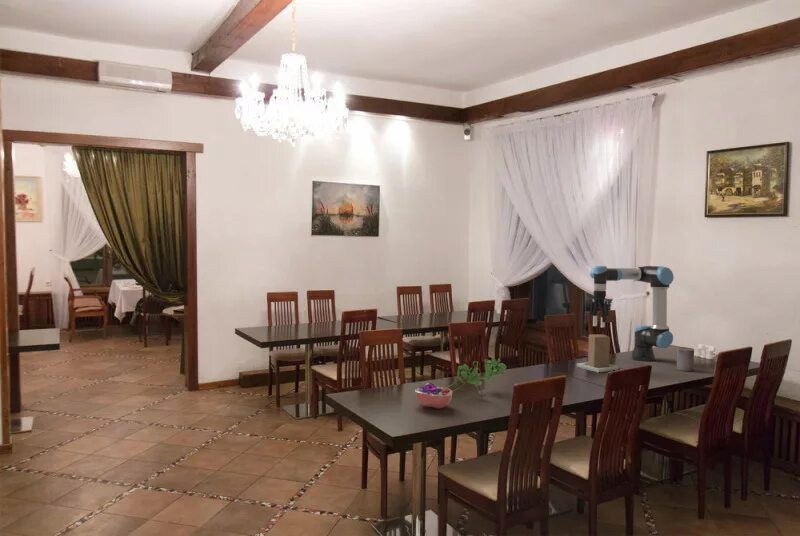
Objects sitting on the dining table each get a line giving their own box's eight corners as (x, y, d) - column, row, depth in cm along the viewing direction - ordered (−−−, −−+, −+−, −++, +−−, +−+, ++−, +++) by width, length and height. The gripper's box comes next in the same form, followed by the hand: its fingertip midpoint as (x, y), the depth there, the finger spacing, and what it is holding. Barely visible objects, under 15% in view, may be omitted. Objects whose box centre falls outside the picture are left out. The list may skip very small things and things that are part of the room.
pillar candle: (689, 368, 376) (690, 345, 375) (695, 371, 366) (696, 348, 366) (674, 368, 377) (674, 344, 376) (679, 371, 367) (680, 347, 367)
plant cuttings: (446, 410, 302) (472, 391, 288) (433, 380, 309) (457, 360, 295) (491, 398, 325) (517, 380, 311) (477, 370, 332) (502, 352, 318)
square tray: (596, 364, 385) (597, 361, 385) (618, 369, 369) (618, 366, 369) (576, 366, 377) (576, 363, 377) (598, 372, 361) (598, 369, 361)
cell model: (433, 415, 270) (433, 391, 269) (407, 405, 286) (408, 382, 286) (461, 409, 280) (461, 386, 279) (434, 399, 296) (434, 377, 296)
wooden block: (609, 368, 368) (610, 337, 367) (593, 368, 368) (594, 337, 367) (602, 365, 378) (603, 334, 377) (587, 365, 378) (588, 334, 377)
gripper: (584, 289, 377) (583, 325, 378) (607, 291, 360) (606, 329, 362) (592, 288, 380) (591, 324, 382) (615, 291, 364) (614, 328, 365)
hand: (598, 326), depth 372 cm, fingers open, 6 cm apart
